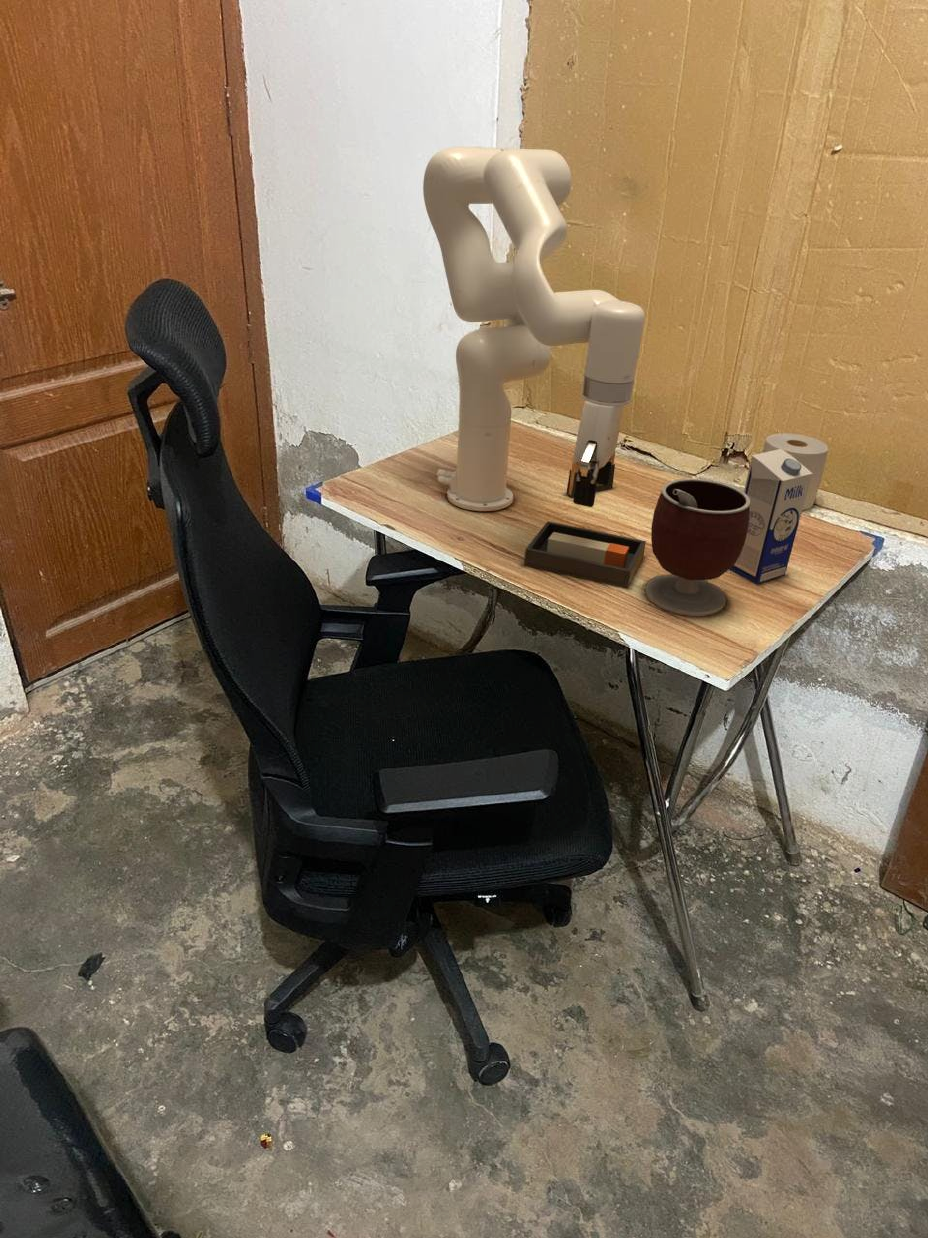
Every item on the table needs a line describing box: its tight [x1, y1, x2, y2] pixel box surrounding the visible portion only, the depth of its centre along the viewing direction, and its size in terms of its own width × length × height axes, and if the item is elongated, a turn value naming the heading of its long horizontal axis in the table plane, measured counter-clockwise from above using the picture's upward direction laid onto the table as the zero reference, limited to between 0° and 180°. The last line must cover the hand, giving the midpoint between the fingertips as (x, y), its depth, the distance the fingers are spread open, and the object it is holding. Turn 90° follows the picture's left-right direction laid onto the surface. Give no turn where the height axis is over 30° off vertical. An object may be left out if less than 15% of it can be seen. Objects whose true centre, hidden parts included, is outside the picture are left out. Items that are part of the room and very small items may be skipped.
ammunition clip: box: [566, 451, 616, 499], centre depth 169 cm, size 11×2×12 cm, turn 124°
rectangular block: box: [547, 532, 629, 568], centre depth 144 cm, size 13×3×3 cm, turn 68°
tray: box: [523, 521, 647, 589], centre depth 144 cm, size 17×12×3 cm
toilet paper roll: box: [761, 432, 829, 511], centre depth 170 cm, size 12×12×12 cm
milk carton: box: [729, 449, 813, 585], centre depth 140 cm, size 7×7×20 cm
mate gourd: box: [645, 478, 750, 617], centre depth 130 cm, size 16×14×20 cm
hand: (591, 493), depth 139 cm, fingers open, 9 cm apart
